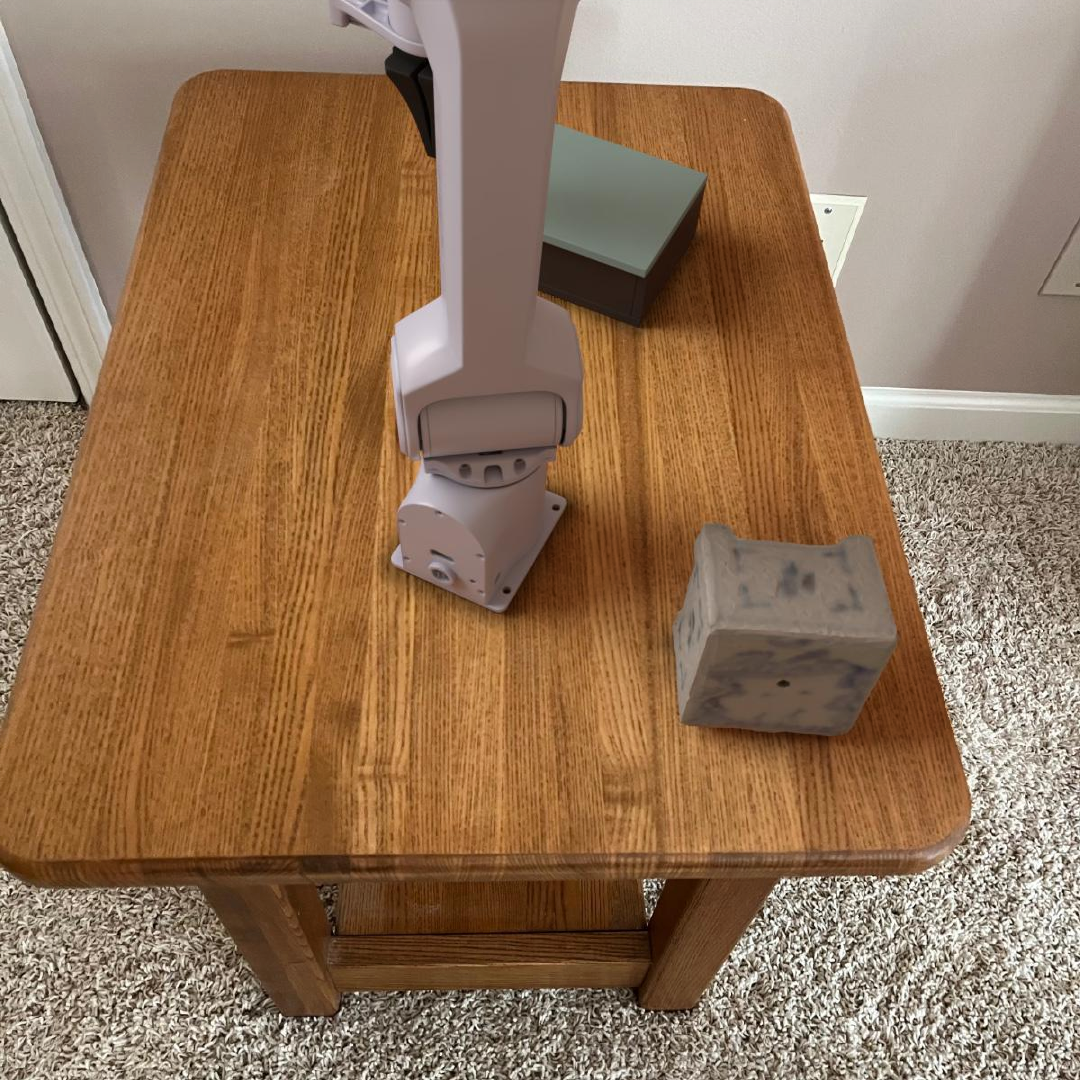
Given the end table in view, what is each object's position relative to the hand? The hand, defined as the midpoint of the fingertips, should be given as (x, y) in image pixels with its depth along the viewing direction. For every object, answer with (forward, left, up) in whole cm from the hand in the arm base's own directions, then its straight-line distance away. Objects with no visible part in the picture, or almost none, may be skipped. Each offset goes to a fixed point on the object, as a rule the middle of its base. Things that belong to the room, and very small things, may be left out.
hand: (442, 150), depth 68 cm
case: (+7, -9, -10) cm, 15 cm away
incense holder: (-22, -33, -11) cm, 41 cm away
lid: (+7, -9, -5) cm, 12 cm away
